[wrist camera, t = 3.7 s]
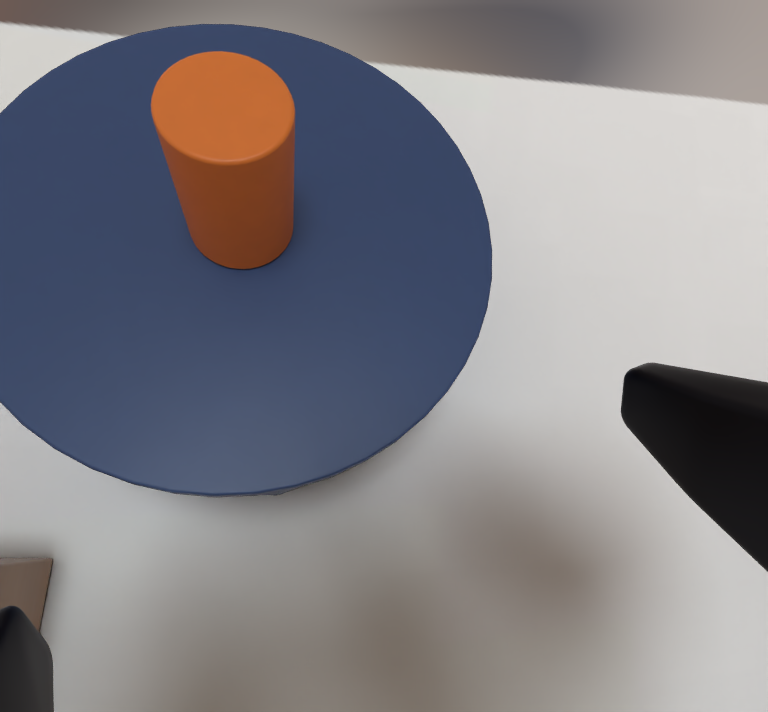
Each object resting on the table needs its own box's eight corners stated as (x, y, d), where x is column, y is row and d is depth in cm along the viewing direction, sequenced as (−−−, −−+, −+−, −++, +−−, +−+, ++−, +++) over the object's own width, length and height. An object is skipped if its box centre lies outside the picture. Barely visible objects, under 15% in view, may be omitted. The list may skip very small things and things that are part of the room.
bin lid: (470, 87, 20) (539, -80, 14) (491, 504, 15) (605, 488, 10) (32, 23, 17) (-82, -206, 12) (-103, 492, 13) (-388, 462, 7)
